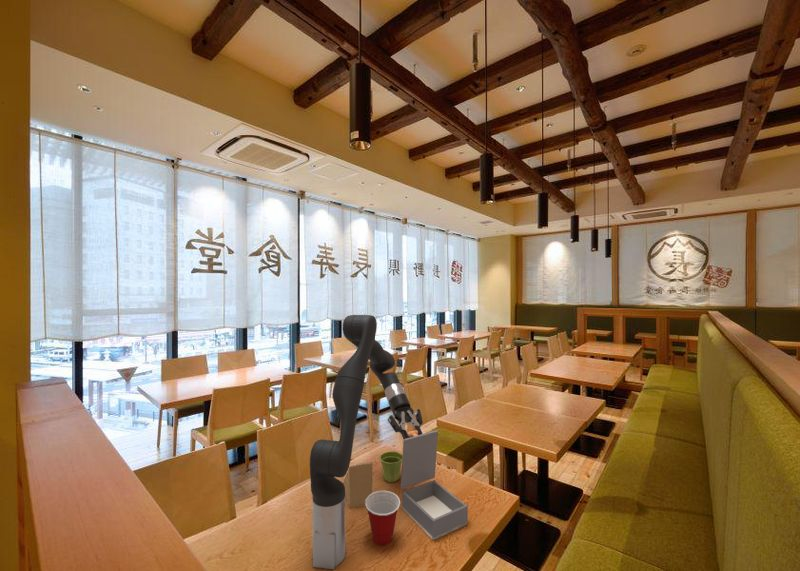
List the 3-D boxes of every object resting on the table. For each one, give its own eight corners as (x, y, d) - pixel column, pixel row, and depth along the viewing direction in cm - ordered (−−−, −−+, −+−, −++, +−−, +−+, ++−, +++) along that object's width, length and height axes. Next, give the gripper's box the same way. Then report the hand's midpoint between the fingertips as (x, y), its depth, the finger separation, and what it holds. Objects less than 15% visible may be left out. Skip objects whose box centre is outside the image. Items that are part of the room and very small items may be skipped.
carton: (467, 524, 118) (467, 506, 118) (433, 540, 111) (433, 521, 110) (434, 496, 133) (434, 480, 133) (402, 508, 126) (402, 491, 126)
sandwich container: (362, 481, 143) (362, 443, 143) (373, 504, 129) (373, 462, 129) (341, 485, 140) (341, 447, 140) (349, 509, 126) (349, 466, 126)
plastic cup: (368, 555, 105) (368, 514, 104) (362, 530, 115) (362, 493, 115) (404, 548, 107) (404, 508, 107) (395, 524, 118) (395, 488, 118)
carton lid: (438, 431, 131) (426, 422, 137) (404, 440, 124) (394, 431, 129) (434, 477, 133) (423, 467, 139) (401, 489, 126) (391, 478, 131)
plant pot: (402, 485, 140) (402, 463, 140) (378, 484, 141) (378, 462, 141) (403, 472, 150) (403, 451, 150) (380, 471, 150) (380, 451, 150)
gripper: (384, 395, 136) (401, 439, 125) (415, 389, 143) (434, 430, 133) (377, 406, 140) (393, 448, 130) (408, 399, 148) (426, 439, 137)
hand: (414, 439), depth 132 cm, fingers closed on carton lid, 5 cm apart
